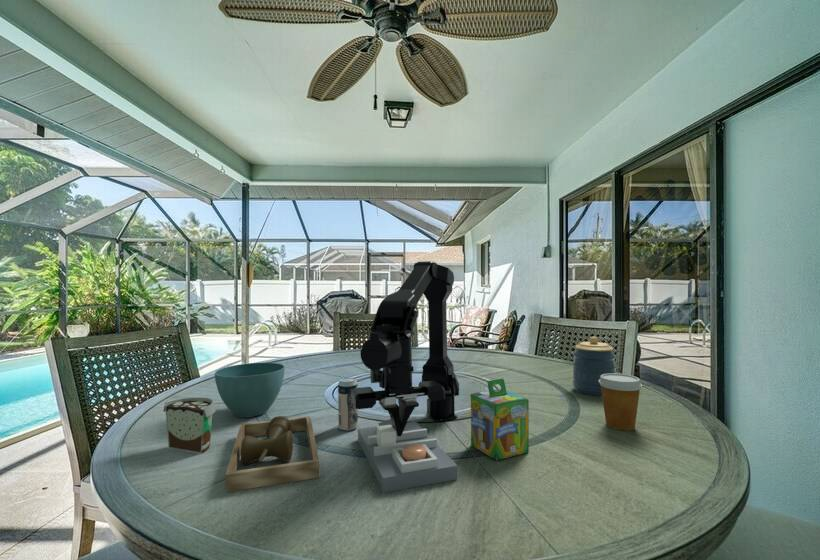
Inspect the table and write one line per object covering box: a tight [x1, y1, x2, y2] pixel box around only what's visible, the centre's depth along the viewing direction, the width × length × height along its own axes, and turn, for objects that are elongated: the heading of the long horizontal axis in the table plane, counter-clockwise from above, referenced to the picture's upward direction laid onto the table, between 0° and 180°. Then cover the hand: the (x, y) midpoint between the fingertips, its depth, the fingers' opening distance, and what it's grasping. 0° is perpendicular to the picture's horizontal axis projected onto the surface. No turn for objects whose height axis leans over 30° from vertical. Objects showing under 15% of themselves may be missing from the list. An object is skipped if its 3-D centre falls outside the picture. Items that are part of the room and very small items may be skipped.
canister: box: [572, 336, 617, 397], centre depth 129 cm, size 13×13×18 cm
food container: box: [162, 396, 216, 455], centre depth 89 cm, size 12×6×10 cm, turn 71°
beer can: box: [337, 377, 359, 432], centre depth 99 cm, size 5×5×12 cm
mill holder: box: [225, 415, 320, 493], centre depth 84 cm, size 16×26×3 cm, turn 18°
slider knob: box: [376, 425, 396, 446], centre depth 81 cm, size 3×4×4 cm
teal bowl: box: [214, 362, 285, 418], centre depth 111 cm, size 18×18×12 cm
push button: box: [402, 444, 426, 462], centre depth 74 cm, size 4×4×2 cm
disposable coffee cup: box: [599, 373, 643, 431], centre depth 98 cm, size 10×10×12 cm
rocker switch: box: [378, 418, 395, 430], centre depth 90 cm, size 5×4×1 cm
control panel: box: [357, 421, 458, 494], centre depth 82 cm, size 14×24×4 cm, turn 18°
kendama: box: [240, 415, 294, 466], centre depth 85 cm, size 6×10×20 cm
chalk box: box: [469, 378, 530, 462], centre depth 86 cm, size 9×9×15 cm
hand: (398, 435), depth 82 cm, fingers closed
